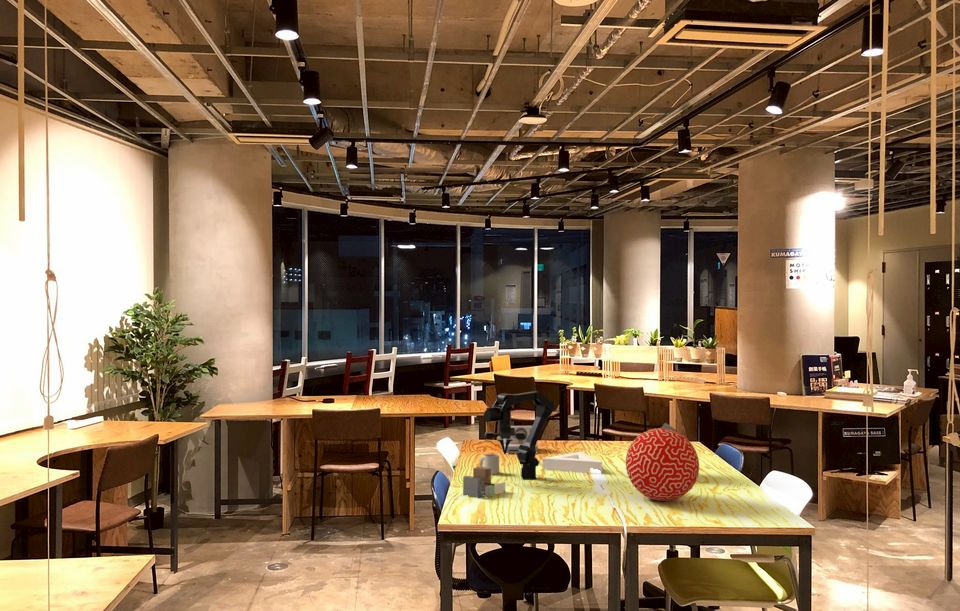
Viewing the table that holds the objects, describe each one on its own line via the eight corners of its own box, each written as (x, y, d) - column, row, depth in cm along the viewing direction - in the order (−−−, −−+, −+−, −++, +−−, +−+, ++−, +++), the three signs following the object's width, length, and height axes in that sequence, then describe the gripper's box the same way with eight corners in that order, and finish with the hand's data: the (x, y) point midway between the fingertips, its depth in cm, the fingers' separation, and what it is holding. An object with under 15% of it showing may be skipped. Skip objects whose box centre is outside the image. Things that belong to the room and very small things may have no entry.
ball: (620, 491, 317) (620, 423, 317) (688, 491, 316) (688, 423, 316) (632, 508, 287) (632, 433, 287) (708, 509, 286) (707, 434, 286)
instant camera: (500, 454, 405) (500, 428, 405) (501, 448, 425) (501, 422, 426) (538, 455, 403) (538, 428, 404) (537, 448, 424) (537, 423, 424)
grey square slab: (466, 493, 311) (466, 475, 311) (481, 496, 306) (481, 478, 306) (463, 495, 309) (463, 476, 309) (477, 497, 304) (477, 479, 304)
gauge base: (486, 487, 323) (486, 478, 323) (506, 491, 316) (506, 481, 316) (466, 493, 311) (466, 483, 311) (486, 497, 304) (486, 487, 304)
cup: (497, 475, 349) (497, 457, 349) (477, 474, 351) (477, 456, 352) (500, 472, 356) (500, 454, 356) (481, 471, 358) (481, 453, 359)
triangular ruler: (542, 470, 362) (542, 458, 362) (553, 461, 387) (553, 449, 387) (601, 475, 353) (601, 462, 353) (609, 465, 377) (609, 453, 377)
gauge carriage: (480, 486, 317) (480, 466, 317) (500, 490, 310) (500, 469, 311) (473, 488, 313) (473, 468, 313) (493, 492, 306) (493, 471, 307)
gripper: (485, 423, 327) (485, 457, 327) (525, 423, 327) (525, 457, 327) (484, 419, 338) (484, 452, 338) (524, 419, 338) (524, 452, 338)
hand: (504, 454), depth 335 cm, fingers closed
